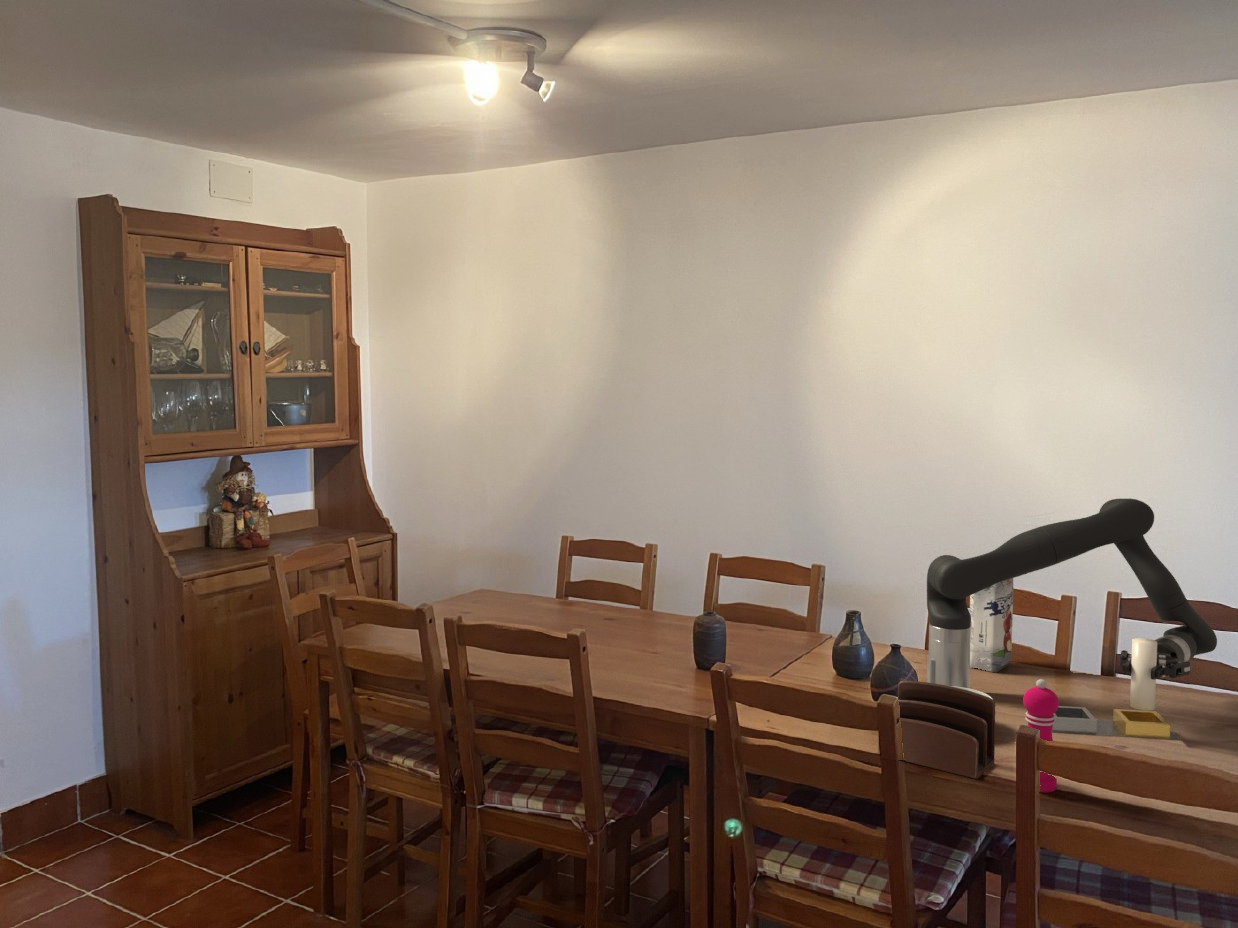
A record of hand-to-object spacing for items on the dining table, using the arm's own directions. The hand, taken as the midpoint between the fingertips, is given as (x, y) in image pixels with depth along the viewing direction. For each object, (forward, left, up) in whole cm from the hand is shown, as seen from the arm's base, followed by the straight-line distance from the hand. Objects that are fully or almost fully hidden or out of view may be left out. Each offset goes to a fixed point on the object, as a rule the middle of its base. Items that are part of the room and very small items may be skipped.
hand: (1139, 671), depth 202 cm
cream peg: (+2, +2, -8) cm, 8 cm away
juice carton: (-21, +48, -14) cm, 54 cm away
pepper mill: (-26, -29, -14) cm, 41 cm away
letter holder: (-42, -19, -15) cm, 49 cm away
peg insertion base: (-6, +2, -14) cm, 15 cm away
